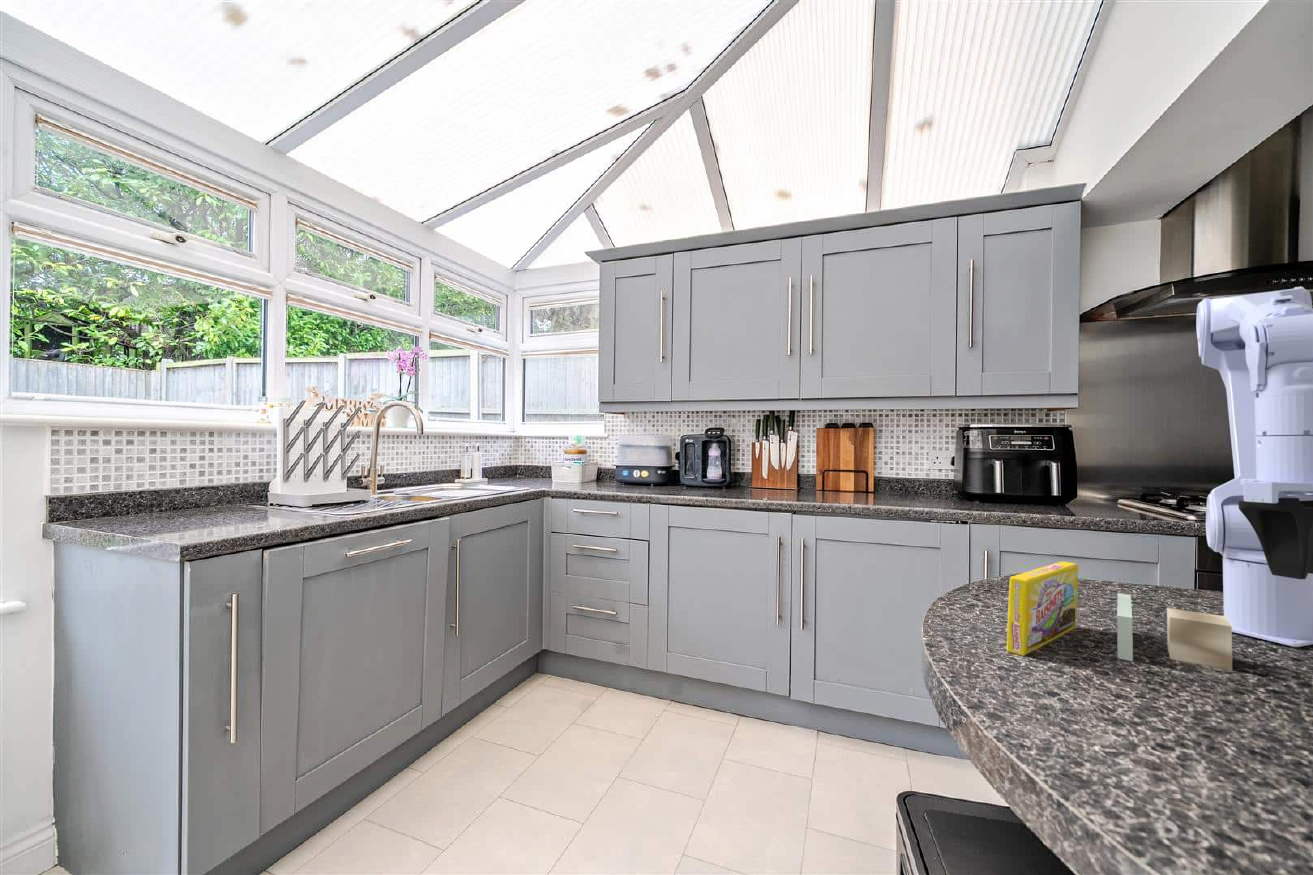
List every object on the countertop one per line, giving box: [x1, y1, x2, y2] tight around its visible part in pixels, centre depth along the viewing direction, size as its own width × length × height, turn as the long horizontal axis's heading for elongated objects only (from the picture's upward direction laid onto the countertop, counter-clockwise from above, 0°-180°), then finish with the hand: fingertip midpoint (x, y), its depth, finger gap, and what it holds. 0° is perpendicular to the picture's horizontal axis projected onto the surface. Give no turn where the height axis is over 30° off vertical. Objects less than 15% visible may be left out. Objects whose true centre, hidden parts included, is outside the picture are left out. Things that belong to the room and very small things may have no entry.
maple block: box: [1166, 607, 1233, 672], centre depth 57 cm, size 4×4×4 cm
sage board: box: [1116, 592, 1134, 662], centre depth 61 cm, size 1×12×4 cm, turn 139°
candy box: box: [1006, 560, 1079, 657], centre depth 62 cm, size 16×2×8 cm, turn 126°
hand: (1301, 575), depth 52 cm, fingers open, 4 cm apart
